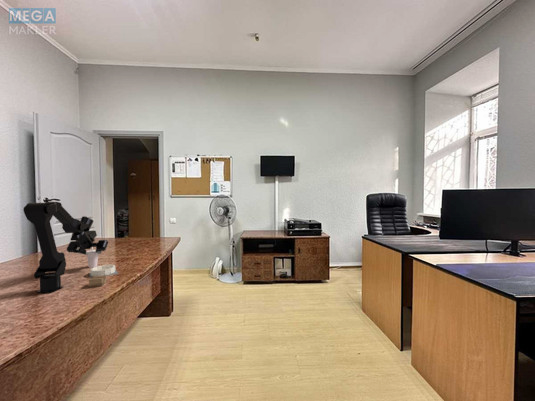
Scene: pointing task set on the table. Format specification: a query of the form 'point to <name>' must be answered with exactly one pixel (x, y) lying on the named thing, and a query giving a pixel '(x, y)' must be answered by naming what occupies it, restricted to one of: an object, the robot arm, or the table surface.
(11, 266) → the table surface
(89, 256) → the smoothie
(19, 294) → the table surface
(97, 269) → the white bowl
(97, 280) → the walnut block
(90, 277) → the mat
